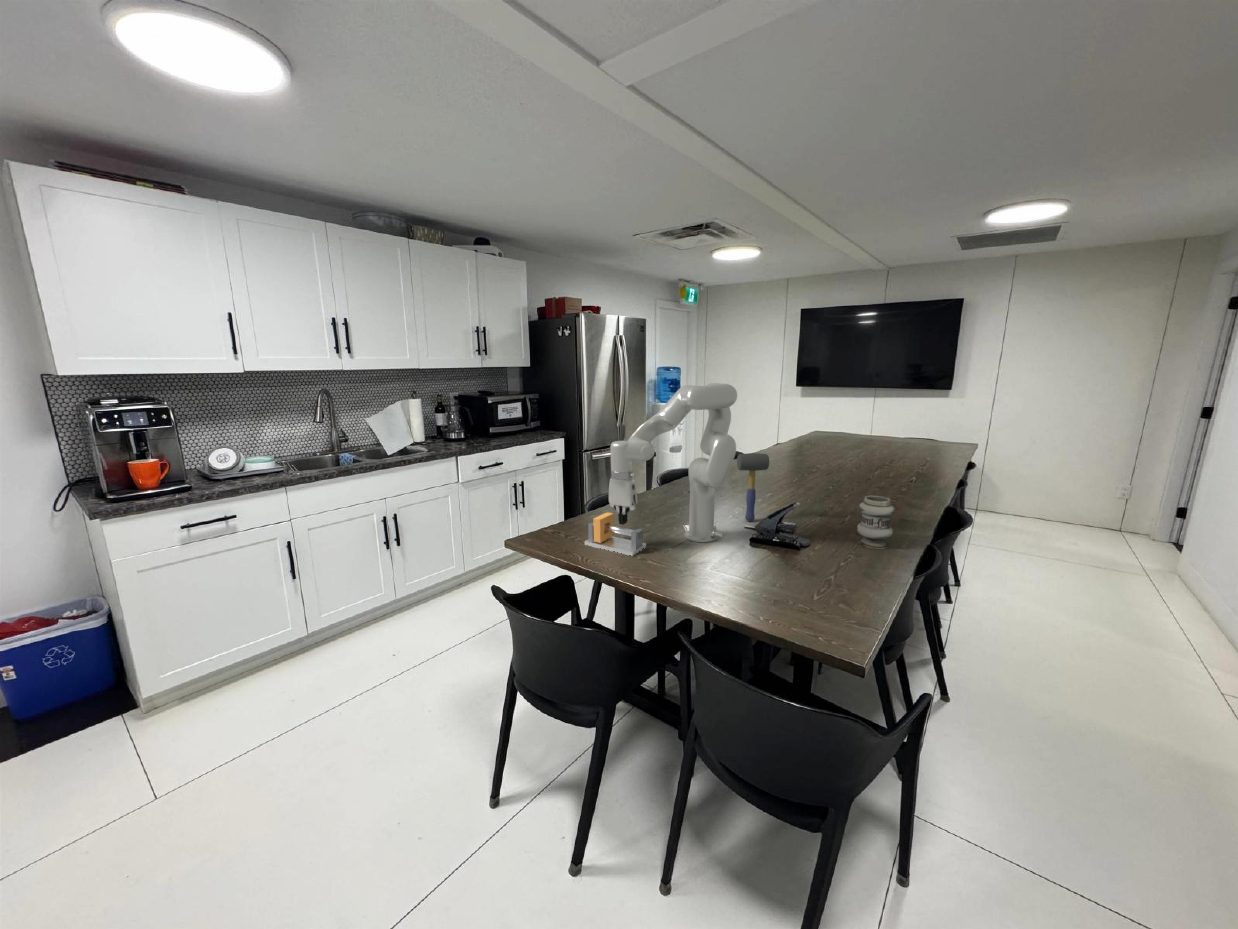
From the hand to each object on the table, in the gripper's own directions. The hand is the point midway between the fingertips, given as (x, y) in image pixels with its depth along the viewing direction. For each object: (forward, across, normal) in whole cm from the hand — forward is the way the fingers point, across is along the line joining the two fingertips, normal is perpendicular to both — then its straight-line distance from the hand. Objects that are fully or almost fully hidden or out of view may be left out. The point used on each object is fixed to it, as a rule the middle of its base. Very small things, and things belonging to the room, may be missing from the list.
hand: (623, 523), depth 177 cm
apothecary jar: (+12, -79, -52) cm, 95 cm away
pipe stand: (+9, +3, +1) cm, 10 cm away
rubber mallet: (+11, -31, -55) cm, 64 cm away
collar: (+7, +8, +1) cm, 11 cm away
